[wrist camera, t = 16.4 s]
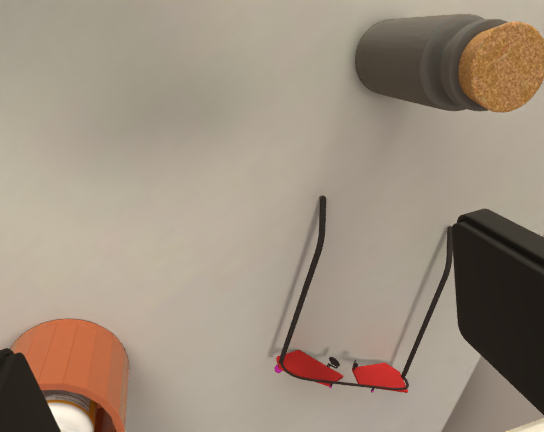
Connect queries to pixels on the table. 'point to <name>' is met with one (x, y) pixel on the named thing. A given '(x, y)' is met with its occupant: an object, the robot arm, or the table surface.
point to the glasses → (365, 375)
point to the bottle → (453, 62)
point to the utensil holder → (80, 365)
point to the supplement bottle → (72, 410)
